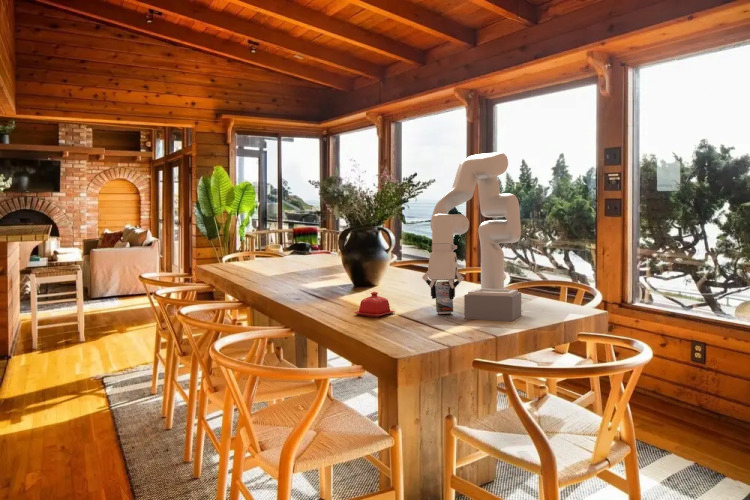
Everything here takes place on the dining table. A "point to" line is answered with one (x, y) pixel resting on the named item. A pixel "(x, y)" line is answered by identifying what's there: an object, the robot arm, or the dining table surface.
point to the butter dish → (374, 306)
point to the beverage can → (443, 298)
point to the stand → (492, 304)
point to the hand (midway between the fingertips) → (442, 298)
